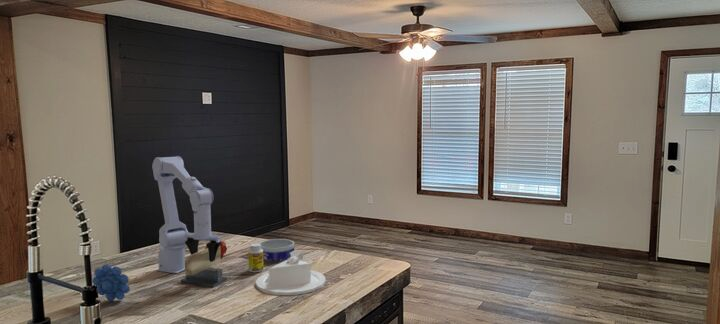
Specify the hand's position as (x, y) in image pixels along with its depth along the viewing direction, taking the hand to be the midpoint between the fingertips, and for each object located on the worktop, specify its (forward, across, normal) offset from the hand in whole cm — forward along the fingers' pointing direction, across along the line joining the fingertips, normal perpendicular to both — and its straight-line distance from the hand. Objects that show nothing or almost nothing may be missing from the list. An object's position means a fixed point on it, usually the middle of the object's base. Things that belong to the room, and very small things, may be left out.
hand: (203, 259), depth 169 cm
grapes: (+8, -16, -26) cm, 32 cm away
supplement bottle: (+8, +11, +17) cm, 22 cm away
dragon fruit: (+8, -14, +26) cm, 31 cm away
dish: (+8, +30, +10) cm, 33 cm away
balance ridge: (+8, 0, 0) cm, 8 cm away
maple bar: (+3, 0, 0) cm, 3 cm away
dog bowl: (+8, +9, +36) cm, 38 cm away
